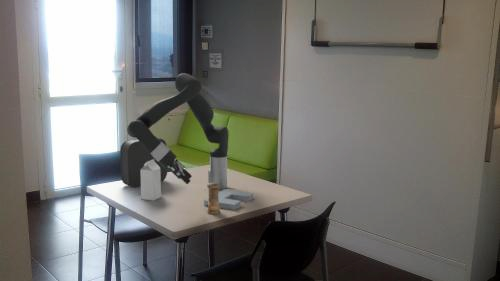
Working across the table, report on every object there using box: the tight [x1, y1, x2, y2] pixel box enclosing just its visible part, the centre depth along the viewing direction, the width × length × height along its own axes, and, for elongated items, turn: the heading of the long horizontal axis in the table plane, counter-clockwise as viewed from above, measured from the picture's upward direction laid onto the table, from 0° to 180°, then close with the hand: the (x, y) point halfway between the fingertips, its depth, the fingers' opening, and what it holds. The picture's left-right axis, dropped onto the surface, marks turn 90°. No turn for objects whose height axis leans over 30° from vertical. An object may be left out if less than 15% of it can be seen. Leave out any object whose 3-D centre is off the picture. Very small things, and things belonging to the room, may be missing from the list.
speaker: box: [119, 137, 168, 188], centre depth 262 cm, size 25×9×25 cm, turn 136°
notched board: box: [203, 188, 255, 211], centre depth 233 cm, size 16×22×2 cm
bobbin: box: [206, 183, 221, 215], centre depth 216 cm, size 6×6×13 cm
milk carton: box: [140, 159, 162, 201], centre depth 236 cm, size 7×7×19 cm
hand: (189, 180), depth 214 cm, fingers open, 8 cm apart
